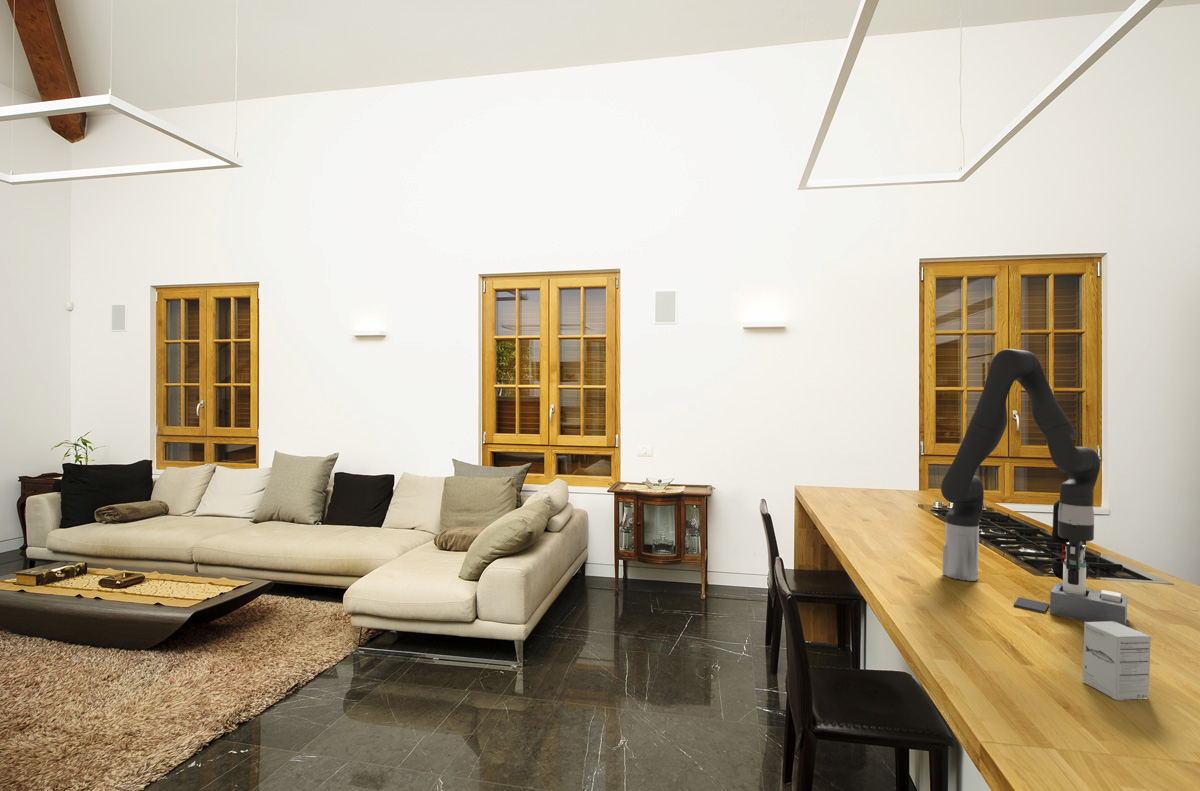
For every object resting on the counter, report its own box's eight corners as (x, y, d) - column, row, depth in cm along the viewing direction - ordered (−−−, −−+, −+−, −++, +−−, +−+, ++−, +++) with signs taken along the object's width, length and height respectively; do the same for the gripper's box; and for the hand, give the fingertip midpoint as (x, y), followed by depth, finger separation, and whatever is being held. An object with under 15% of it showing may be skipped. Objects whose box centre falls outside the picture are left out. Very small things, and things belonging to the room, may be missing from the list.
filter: (1087, 594, 173) (1090, 493, 173) (1049, 586, 179) (1051, 489, 179) (1089, 583, 183) (1091, 488, 183) (1053, 576, 189) (1055, 484, 189)
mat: (1013, 606, 162) (1013, 604, 162) (1018, 599, 168) (1018, 597, 168) (1045, 613, 157) (1045, 611, 157) (1049, 605, 163) (1049, 603, 163)
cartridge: (1061, 613, 157) (1062, 561, 157) (1063, 608, 161) (1064, 558, 161) (1084, 618, 154) (1085, 565, 154) (1085, 613, 157) (1087, 561, 157)
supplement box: (1080, 682, 119) (1082, 621, 119) (1114, 681, 120) (1115, 620, 120) (1115, 701, 112) (1117, 636, 112) (1150, 700, 113) (1152, 635, 112)
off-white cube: (1100, 612, 152) (1100, 593, 152) (1101, 608, 155) (1102, 589, 155) (1119, 616, 149) (1120, 596, 149) (1120, 612, 152) (1121, 593, 152)
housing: (1049, 613, 157) (1050, 591, 156) (1055, 603, 164) (1055, 582, 164) (1124, 630, 146) (1125, 606, 146) (1126, 618, 154) (1127, 596, 154)
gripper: (1061, 514, 165) (1060, 572, 165) (1054, 522, 155) (1053, 583, 155) (1096, 519, 160) (1095, 578, 160) (1091, 527, 149) (1090, 590, 149)
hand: (1074, 580), depth 157 cm, fingers open, 8 cm apart
